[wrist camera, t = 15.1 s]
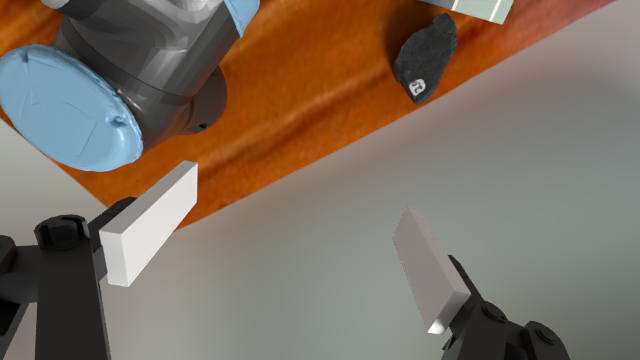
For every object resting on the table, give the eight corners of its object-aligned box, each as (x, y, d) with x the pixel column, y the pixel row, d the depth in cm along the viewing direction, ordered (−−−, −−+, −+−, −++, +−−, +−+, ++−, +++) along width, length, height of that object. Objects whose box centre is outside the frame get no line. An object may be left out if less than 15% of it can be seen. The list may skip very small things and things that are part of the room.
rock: (459, 74, 43) (479, 77, 37) (411, 106, 45) (422, 113, 40) (433, 14, 39) (450, 8, 34) (381, 52, 41) (390, 52, 36)
